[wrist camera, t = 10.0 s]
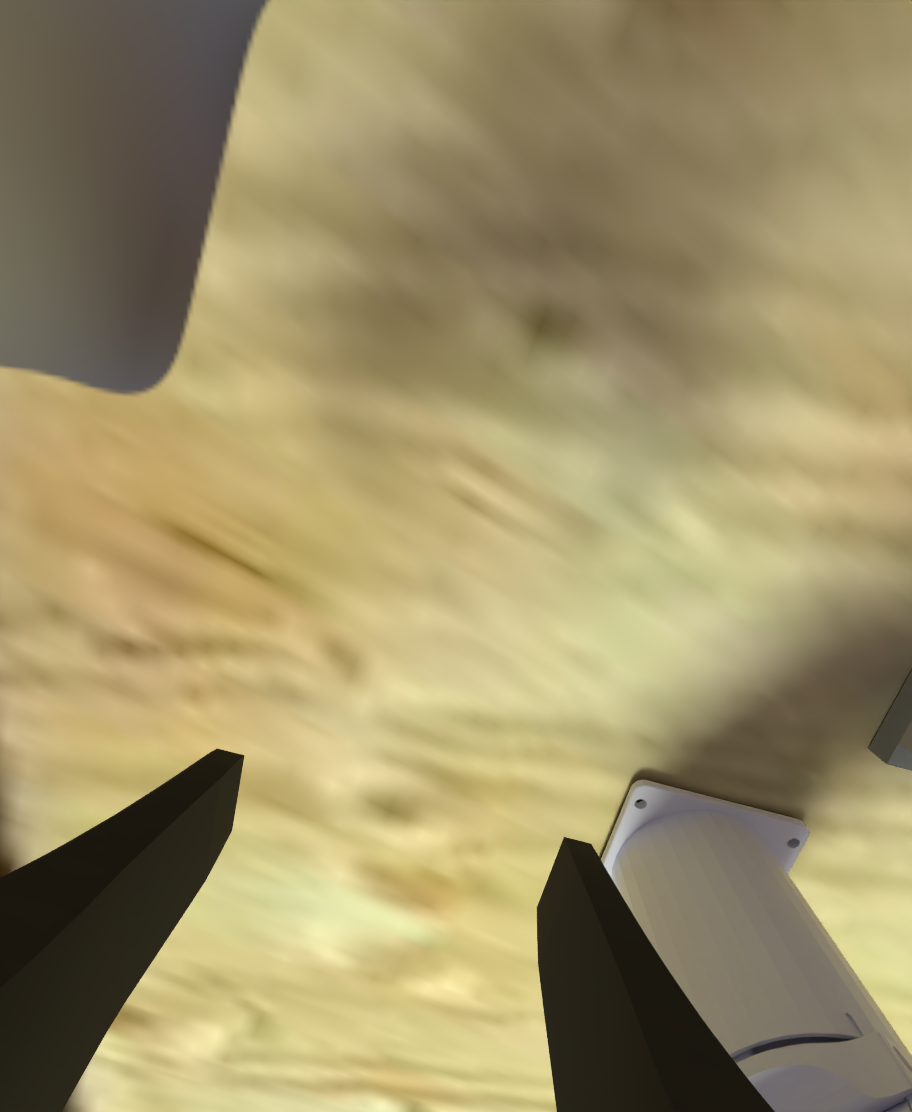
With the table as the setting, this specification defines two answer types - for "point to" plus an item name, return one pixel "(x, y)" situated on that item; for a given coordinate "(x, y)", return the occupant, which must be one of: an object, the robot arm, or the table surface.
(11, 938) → the robot arm
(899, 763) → the display rack
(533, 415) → the table surface
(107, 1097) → the table surface
